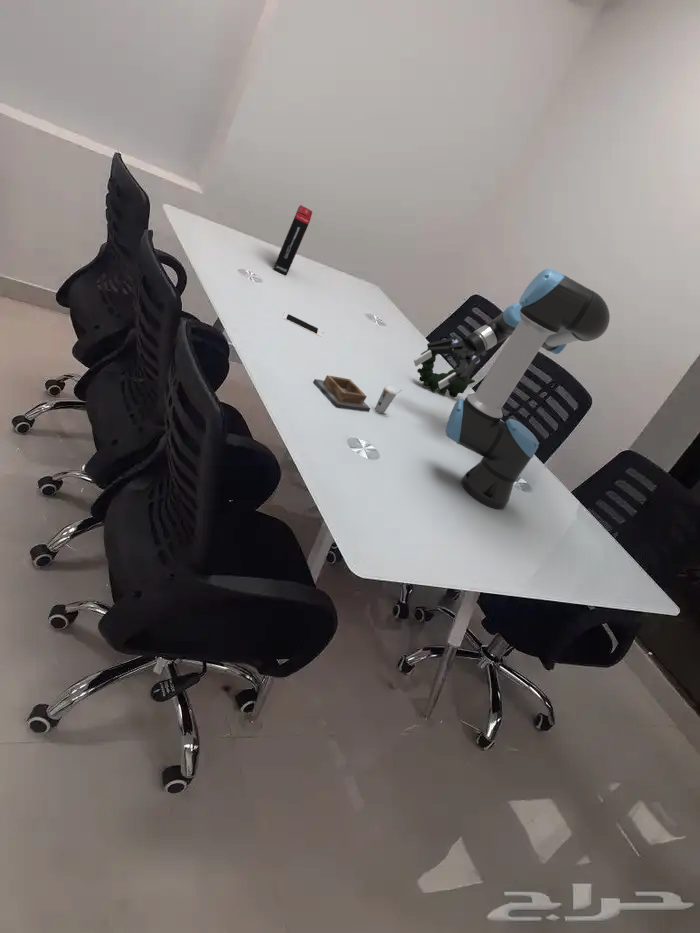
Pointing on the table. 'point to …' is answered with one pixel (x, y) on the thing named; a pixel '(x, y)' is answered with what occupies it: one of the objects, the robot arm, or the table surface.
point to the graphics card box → (293, 240)
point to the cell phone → (302, 324)
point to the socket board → (342, 393)
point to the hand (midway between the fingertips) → (426, 374)
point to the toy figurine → (433, 379)
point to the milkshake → (386, 398)
